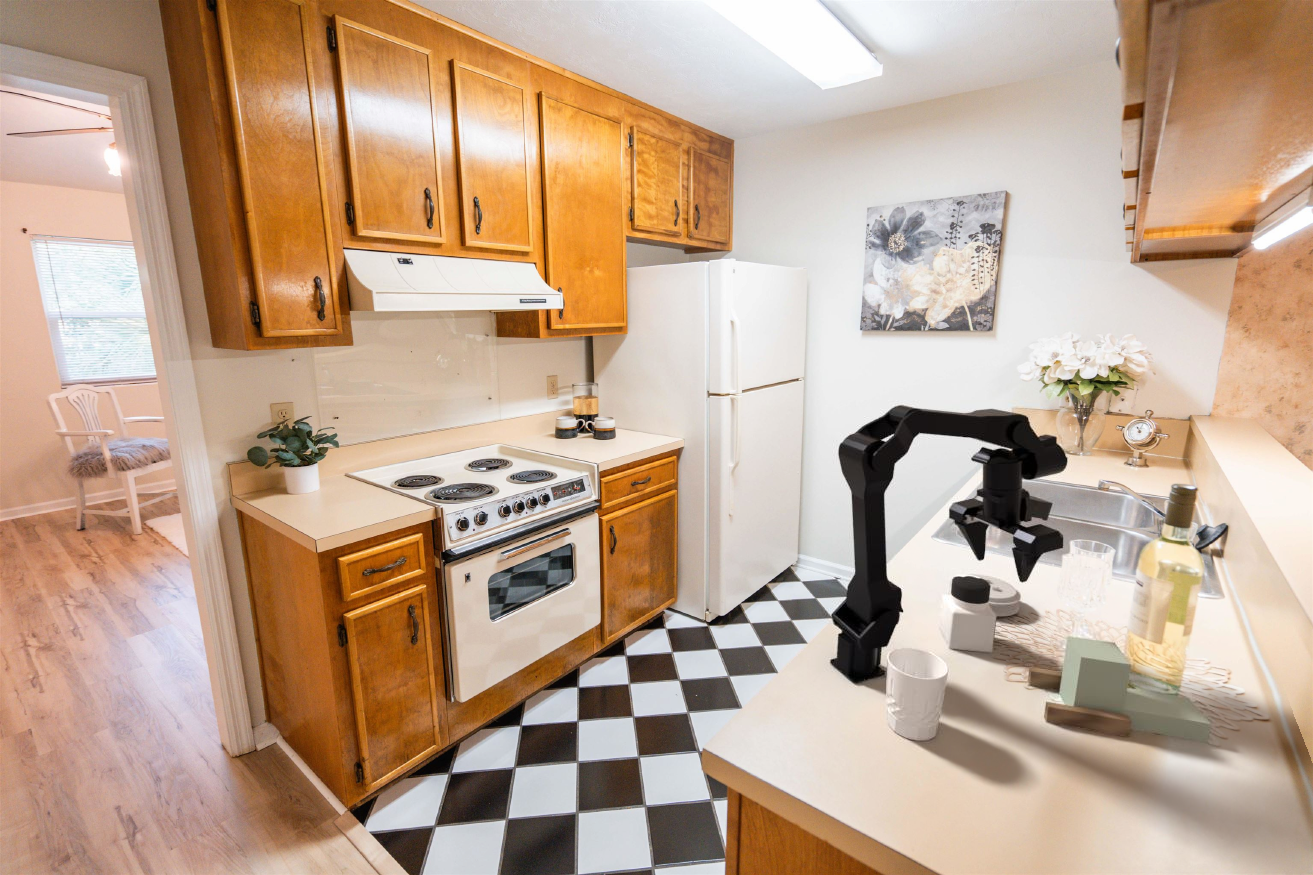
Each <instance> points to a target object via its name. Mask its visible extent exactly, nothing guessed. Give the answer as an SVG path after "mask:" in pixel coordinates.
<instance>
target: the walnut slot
mask: <svg viewBox="0 0 1313 875" xmlns="http://www.w3.org/2000/svg"><path fill="white" fill-rule="evenodd" d="M1027 675H1028V676H1027V683H1028V684H1029V685H1028V686H1032V687H1039V688H1043V689H1049V690H1056V691H1060V685H1061V678H1062V671H1057V670H1051V669H1045V668H1040V667H1031V666H1029V669H1028V674H1027ZM1044 706H1045V708H1044V713H1043V714H1044V715H1043V718H1044V719H1045V722H1046V723H1050V724H1055V725H1056V724H1057V725H1061V726H1065V727H1072V728H1078V729H1084V730H1089V731H1094V732H1099V733H1100V732H1101V733H1104V734H1110V735H1116V736H1121V737H1122V736H1123V737H1126V738H1127V737H1128V738H1129V737H1130V733H1131V729H1130V728H1131V722H1132V721H1131V719H1130V718H1129V716H1126V715H1121V714H1115V713H1109V712H1103V711H1098V710H1092V709H1086V708H1080V707H1074V706H1069V705H1065V704H1064V703H1063V704H1062V703H1056V702H1050V701H1045V705H1044Z"/></svg>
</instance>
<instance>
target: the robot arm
mask: <svg viewBox="0 0 1313 875" xmlns="http://www.w3.org/2000/svg"><path fill="white" fill-rule="evenodd" d="M919 434H923V435H924V434H925V435H933V436H934V435H935V436H944V437H945V436H946V437H947V436H948V437H956V438H958V437H959V438H969V439H973V440H976V441H980V442H983V443H986V444H990V445H995V446H998V447H1000V448H994V449H992V448H987V447H985V446H982V447H981V448H980V450H978V451H977V452H976V453H974V455H972V456H971V458H970V460H971V461H972V462H974V463H979V464H981V465H982V488H980V489H979V488H978V489H976V496H977V497H980V498H982V501H981V500H979V499H977V498H974V497H971V498H969V499H963V500H959V501H955V502H952V504H951V505H950V507H949V509H948V518H949V519H951V520H953V523H954V525H955V526H957V527H958V529H959V530H960V533H961V534H962V535H963V537H964V539H965V540H966V542H967V544H968V545H969V547H970V549H971V551H972V553H973V554H974V556H975V558H976V560H977V561H979V562H980V561H984V559H985V555H986V544H987V530H988V528H989V527H990V526H991V527H993V528H995V529H999V530H1001V531H1003V532H1006V533H1008V534H1011V535H1012V543H1013V544H1014V547H1012V548H1011V550H1012V555H1013V560H1014V564H1015V569H1016V574H1017V576H1018V577H1017V578H1018V580H1019V582H1020V583H1025V582H1027V581H1028V580H1029V578H1030V576H1031V574H1032V572H1033V570H1034V569H1035V566H1036V564H1037V562H1038V561H1039V560H1040V558H1041V556H1043V554H1045V553H1049V552H1050V553H1051V552H1052V551H1053V552H1054V551H1058V550H1060V549H1064V534H1062V532H1060V531H1059V530H1057V529H1054V528H1053V527H1050V526H1047V525H1045V524H1041V523H1038V524H1033V525H1031V526H1024V525H1022V522H1025V523H1027V522H1032V520H1033V519H1032V518H1034V519H1040V520H1042V521H1044V522H1045V521H1048V520H1049V516H1050V513H1051V510H1052V508H1053V504H1054V503H1053V502H1051V501H1048V500H1045V499H1042V498H1039V497H1037V496H1034V495H1030V492H1029V491H1028V490H1026V489H1025V488H1023V480H1026V481H1027V480H1029V481H1032V480H1035V479H1036V480H1037V479H1039V478H1044V477H1049V476H1052V475H1053V476H1054V475H1057V474H1061V473H1062V472H1064V471H1065V470H1066V468H1067V466H1068V456H1067V455H1066V452H1065V450H1064V449H1063V447H1062V446H1061V445H1060V444H1059V443H1057V441H1058V438H1057V436H1054V435H1051V434H1041V435H1039V436H1038V435H1037V433H1036V432H1035V431H1034V430H1033V428H1032V426H1031V422H1030V421H1029V417H1028V416H1027V415H1025V414H1022V413H1016V412H1011V411H1007V410H1006V411H1005V410H1001V409H995V408H987V409H985V408H984V409H975V410H973V411H971V412H970V411H969V412H956V411H947V410H937V409H930V408H929V409H928V408H927V409H926V408H918V407H912V406H908V405H904V404H901V405H895V406H894V407H892V408H890V410H889V409H888V411H887V412H886V413H884V415H881V416H879V417H878V418H876V419H874V420H872V421H869V422H868V423H866V424H864V425H862V426H861V427H860V428H858V429H857V431H855V432H854V433H851V434H849V435H847V436H846V437H845V438H844V439H843V441H842V442H841V443H840V444H839V446H838V451H837V452H838V460H839V465H840V467H841V468H840V469H841V473H842V475H843V477H844V479H845V481H846V483H847V485H848V487H849V490H850V494H851V510H852V514H851V515H852V533H853V534H852V535H853V537H852V538H853V553H854V556H853V557H854V574H853V576H852V578H851V580H850V581H849V583H848V585H847V590H846V598H845V599H844V600H843V601H841V603H840V605H838V607H837V608H836V609H834V611H833V612H832V613H831V614H830V616H831V619H832V623H833V625H834V626H835V627H837V628H838V629H839V630H841V632H839V633H838V634H837V647H836V648H837V649H836V657H835V658H831V659H830V660H829V663H830V665H832V666H833V667H834V668H835V669H836V670H838V671H839V672H840V673H841V674H842V675H844V677H846V678H847V679H849V681H851V682H852V683H854V684H858V683H862V682H865V681H869V680H872V679H876V678H879V677H883V676H884V677H885V676H886V675H887V671H886V670H884V669H883V668H882V667H880V666H881V662H882V661H881V660H882V649H883V648H885V647H886V648H887V647H889V646H888V645H889V643H890V640H891V638H892V636H893V634H894V631H895V628H896V626H897V625H898V624H899V621H900V617H901V613H904V609H903V607H902V598H903V592H902V588H900V586H898V585H896V584H895V583H893V582H892V581H890V580H889V578H888V570H887V569H888V568H887V567H888V566H887V542H886V539H887V538H886V536H887V535H886V534H887V533H886V531H887V530H886V504H885V501H886V500H885V494H886V491H887V489H888V488H889V486H890V485H891V482H892V480H893V479H894V475H895V474H894V473H895V467H896V466H895V465H896V463H898V461H899V460H901V459H902V458H903V457H904V456H905V455H907V453H908V452H909V450H910V447H911V446H912V443H913V442H914V439H915V438H916V437H917V436H919ZM890 436H891V437H890ZM888 437H890V438H888ZM887 438H888V440H886V441H885V440H884V439H887Z"/></svg>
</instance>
